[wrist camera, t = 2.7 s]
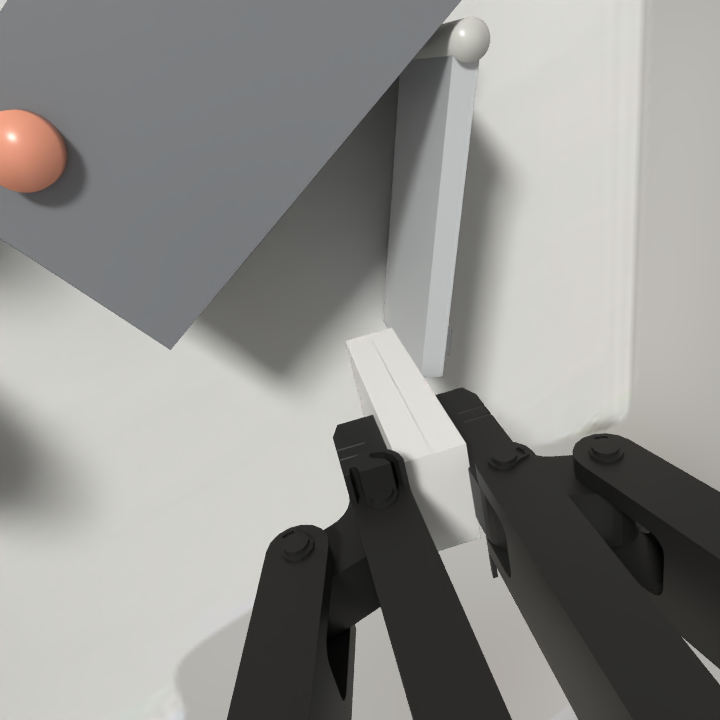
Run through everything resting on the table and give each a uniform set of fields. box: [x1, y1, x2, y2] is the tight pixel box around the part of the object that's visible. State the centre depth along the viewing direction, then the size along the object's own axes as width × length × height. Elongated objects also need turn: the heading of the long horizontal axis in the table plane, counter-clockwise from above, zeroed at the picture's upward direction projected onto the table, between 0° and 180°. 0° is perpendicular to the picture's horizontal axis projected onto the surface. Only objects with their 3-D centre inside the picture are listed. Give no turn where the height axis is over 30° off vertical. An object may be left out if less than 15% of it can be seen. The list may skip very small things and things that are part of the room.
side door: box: [383, 17, 490, 378], centre depth 27 cm, size 14×2×7 cm, turn 177°
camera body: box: [0, 0, 461, 350], centre depth 22 cm, size 18×10×9 cm, turn 137°
